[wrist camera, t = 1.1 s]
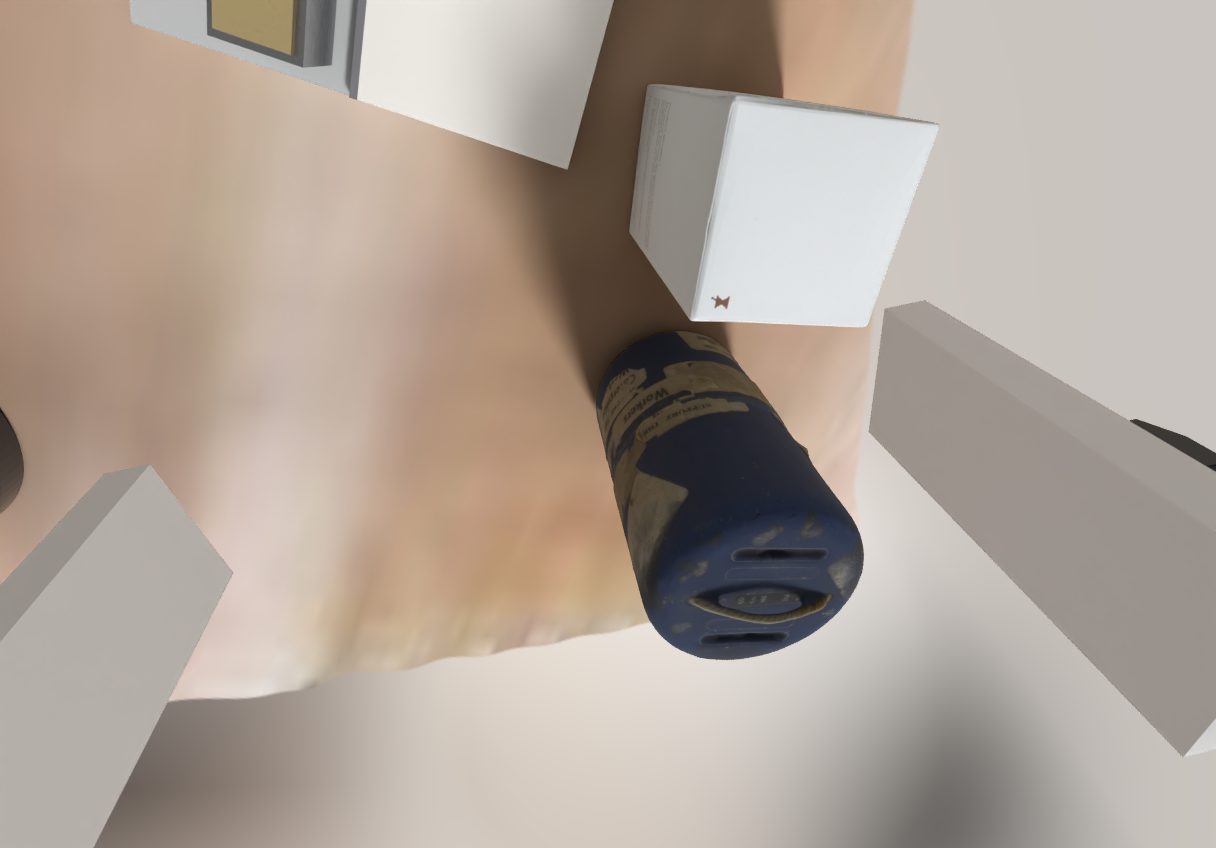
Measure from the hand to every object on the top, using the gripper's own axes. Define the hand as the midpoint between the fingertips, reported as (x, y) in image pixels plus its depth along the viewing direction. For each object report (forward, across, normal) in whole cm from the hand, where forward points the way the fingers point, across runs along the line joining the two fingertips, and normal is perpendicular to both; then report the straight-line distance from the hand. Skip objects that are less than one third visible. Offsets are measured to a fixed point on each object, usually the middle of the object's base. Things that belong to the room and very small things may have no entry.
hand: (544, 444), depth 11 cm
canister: (+23, +7, -14) cm, 27 cm away
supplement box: (+23, +10, 0) cm, 25 cm away
